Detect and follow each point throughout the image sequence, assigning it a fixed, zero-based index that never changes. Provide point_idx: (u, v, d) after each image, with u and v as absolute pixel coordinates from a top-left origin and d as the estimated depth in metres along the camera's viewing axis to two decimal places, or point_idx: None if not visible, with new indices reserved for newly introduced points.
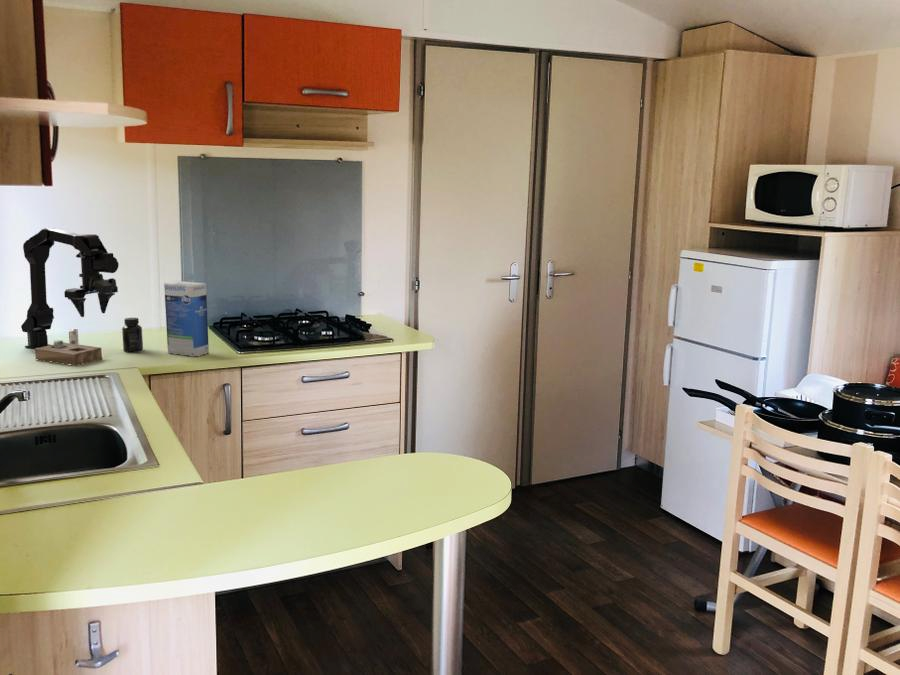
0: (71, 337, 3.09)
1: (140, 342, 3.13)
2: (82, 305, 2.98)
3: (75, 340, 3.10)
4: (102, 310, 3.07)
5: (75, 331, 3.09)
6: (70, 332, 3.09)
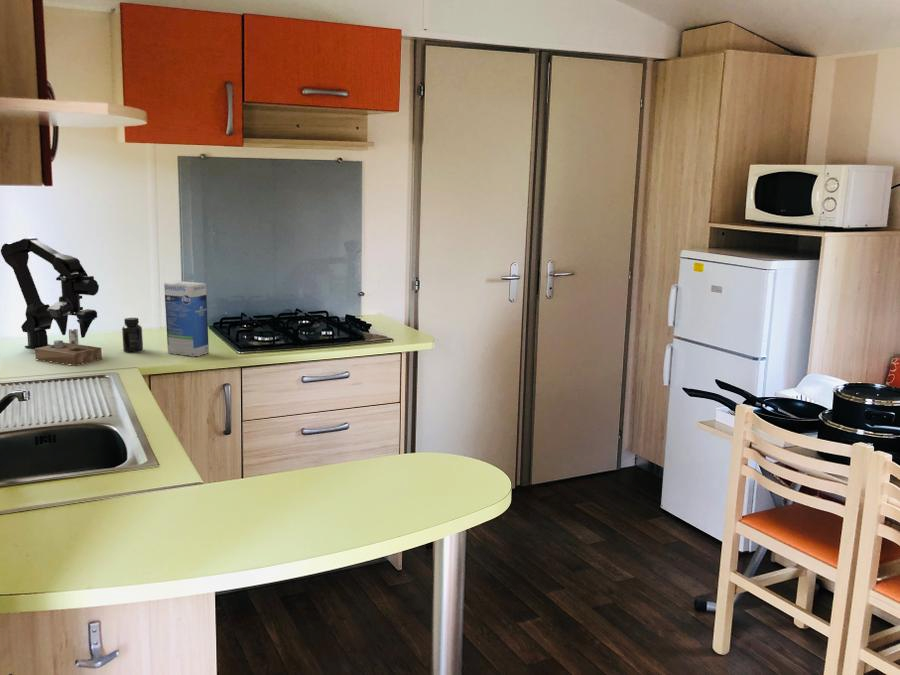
0: (71, 337, 3.09)
1: (140, 342, 3.13)
2: (58, 323, 3.11)
3: (75, 340, 3.10)
4: None
5: (75, 331, 3.09)
6: (70, 332, 3.09)
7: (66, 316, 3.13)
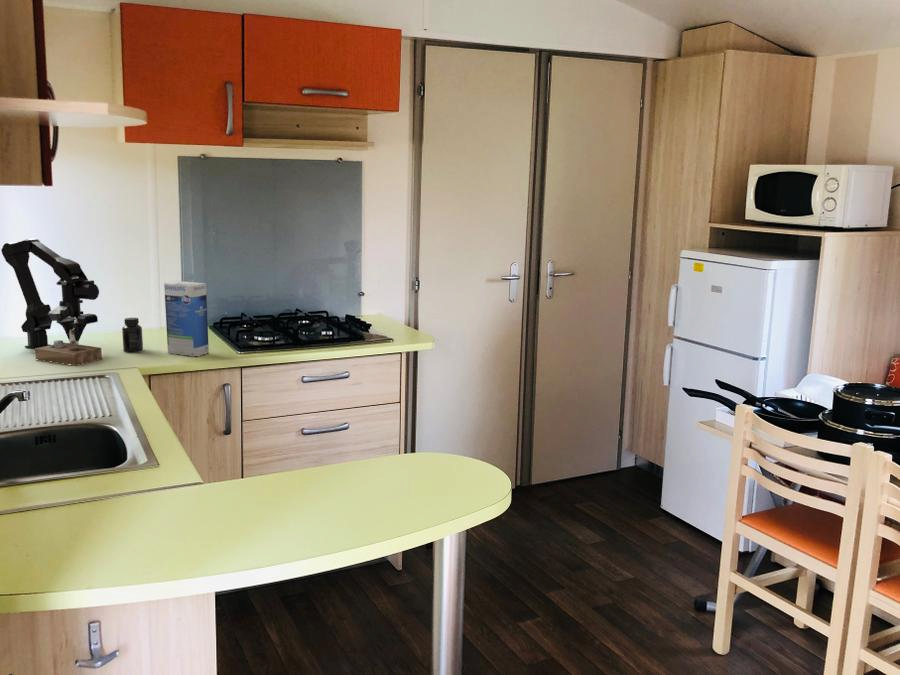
0: (71, 337, 3.09)
1: (140, 342, 3.13)
2: (65, 328, 3.10)
3: (75, 340, 3.10)
4: None
5: None
6: (70, 332, 3.09)
7: (73, 321, 3.12)
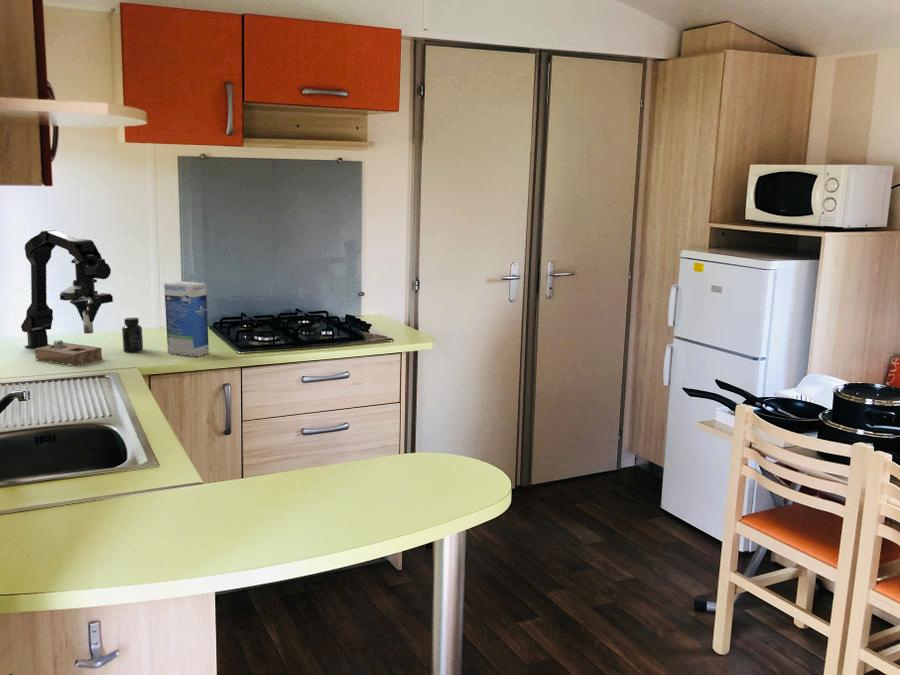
0: (85, 318, 2.98)
1: (140, 342, 3.13)
2: (78, 309, 2.99)
3: (89, 321, 2.99)
4: None
5: None
6: (84, 312, 2.98)
7: (86, 301, 3.01)
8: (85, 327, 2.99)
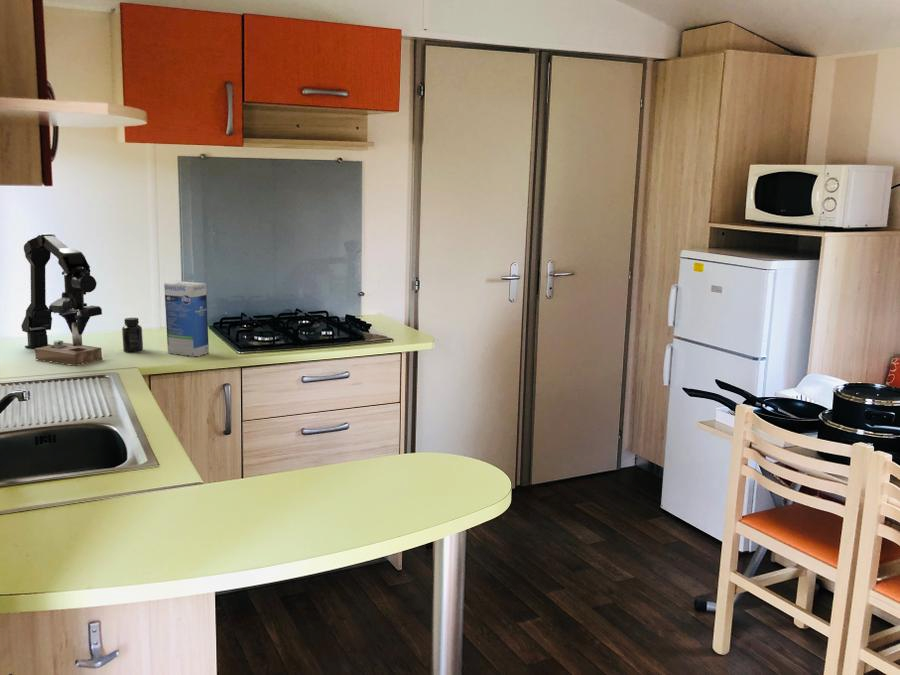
0: (74, 330, 2.94)
1: (140, 342, 3.13)
2: (67, 321, 2.95)
3: (78, 333, 2.95)
4: None
5: None
6: (73, 325, 2.94)
7: (75, 314, 2.97)
8: (74, 340, 2.95)
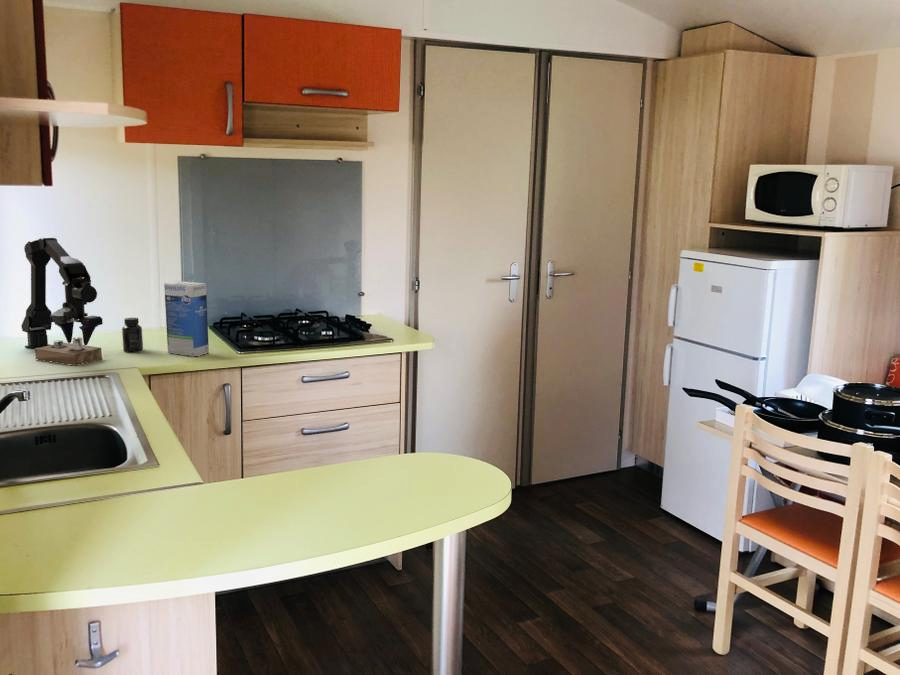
0: (75, 346, 2.95)
1: (140, 342, 3.13)
2: (64, 330, 2.96)
3: (79, 349, 2.96)
4: None
5: (79, 339, 2.96)
6: (74, 341, 2.95)
7: (72, 323, 2.99)
8: None
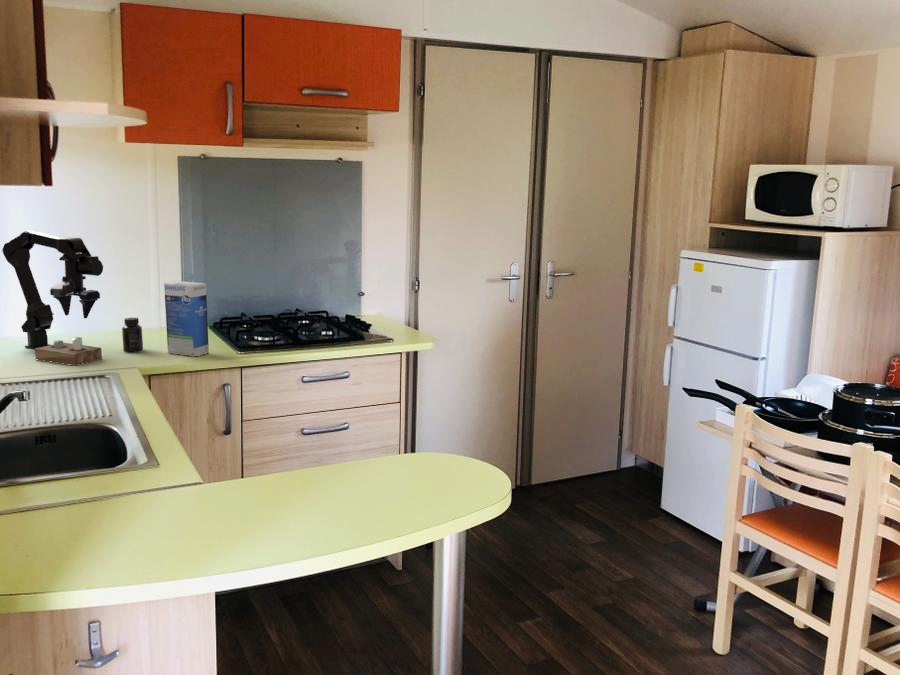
0: (75, 346, 2.95)
1: (140, 342, 3.13)
2: (62, 303, 3.10)
3: (79, 349, 2.96)
4: None
5: (79, 339, 2.96)
6: (74, 341, 2.95)
7: (69, 296, 3.12)
8: None
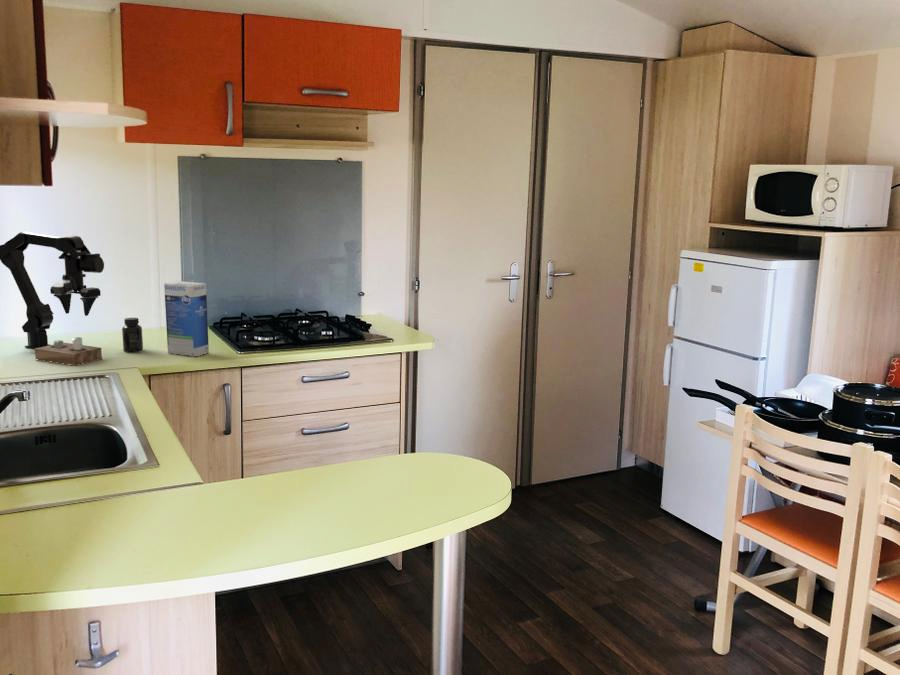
0: (75, 346, 2.95)
1: (140, 342, 3.13)
2: (62, 302, 3.12)
3: (79, 349, 2.96)
4: None
5: (79, 339, 2.96)
6: (74, 341, 2.95)
7: (69, 295, 3.15)
8: None
